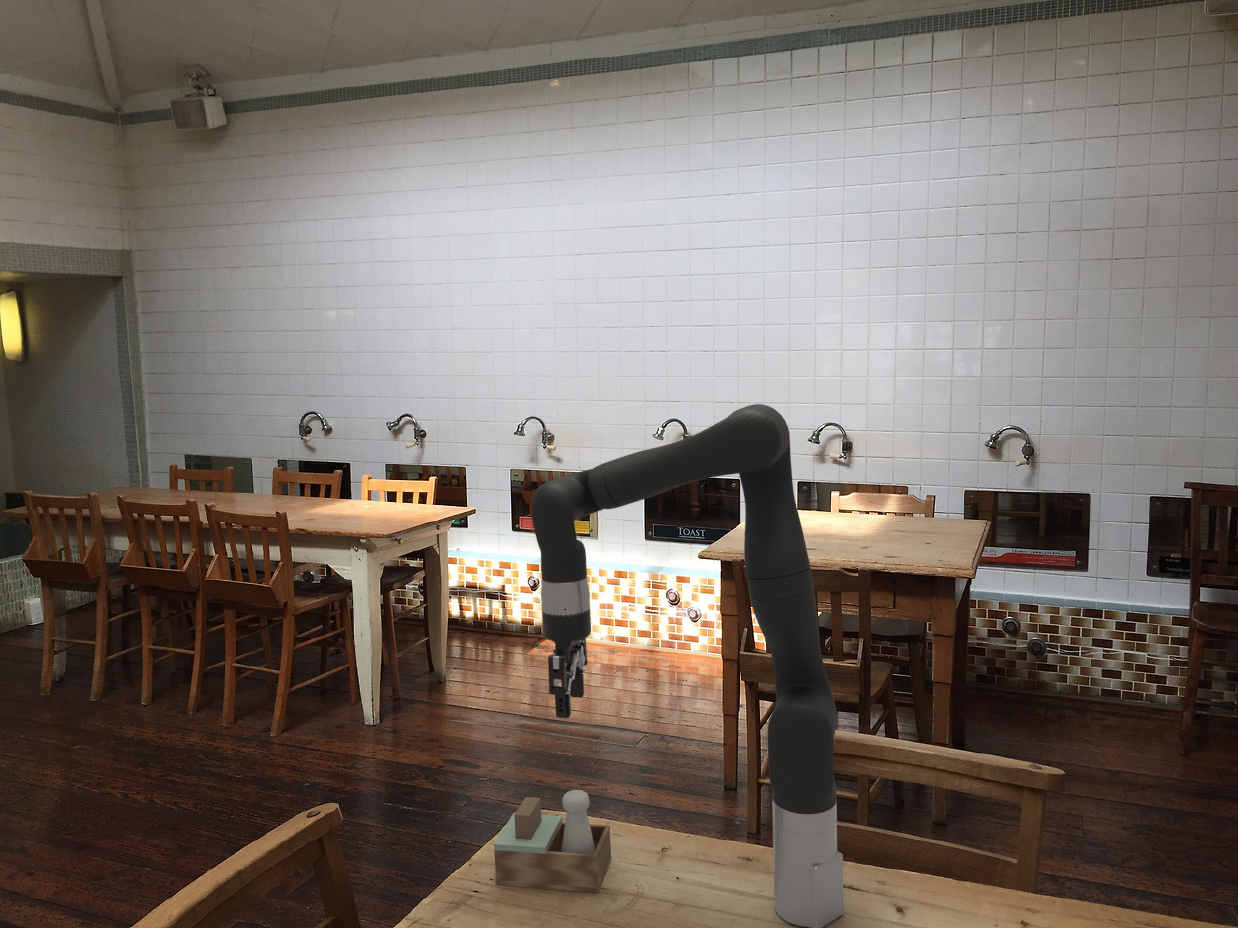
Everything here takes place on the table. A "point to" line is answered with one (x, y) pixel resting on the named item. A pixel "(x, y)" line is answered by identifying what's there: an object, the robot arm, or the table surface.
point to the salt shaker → (577, 824)
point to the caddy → (557, 865)
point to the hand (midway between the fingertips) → (570, 706)
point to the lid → (528, 829)
